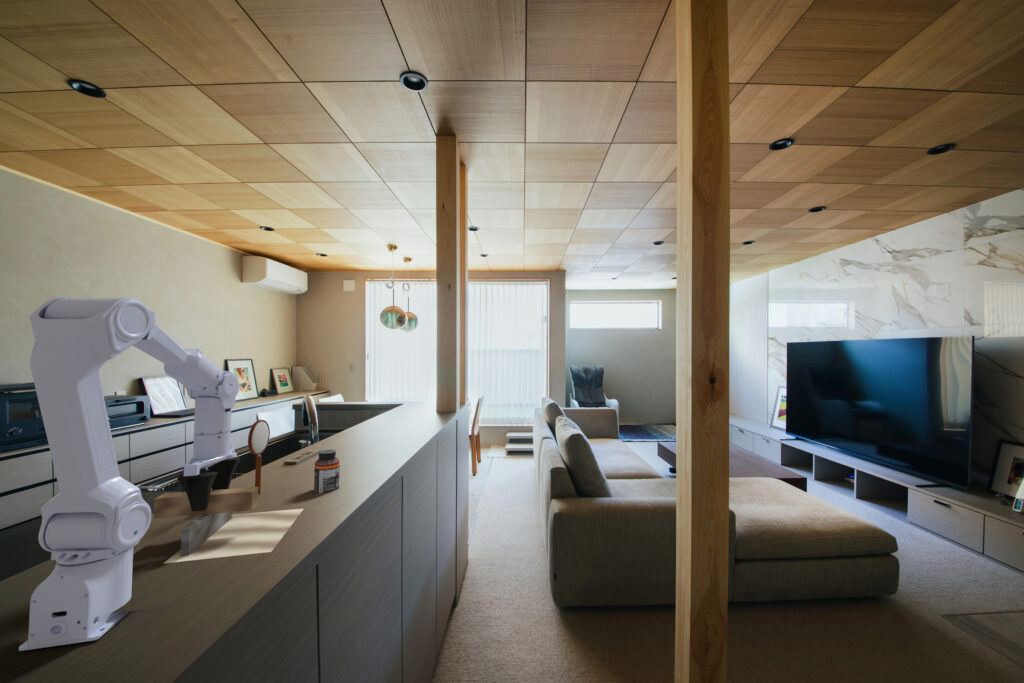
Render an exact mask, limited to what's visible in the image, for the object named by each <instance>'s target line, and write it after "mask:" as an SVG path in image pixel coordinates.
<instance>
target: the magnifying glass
mask: <svg viewBox="0 0 1024 683" xmlns="http://www.w3.org/2000/svg"><path fill="white" fill-rule="evenodd" d="M270 432H271V431H270V426H269V424H268V421H266V420H265V419H258V420H256V421H255V422H253V424H252V425H251V427H250V429H249V432H248V436H247V437H248V438H247V446H248V449H249V452H250V454H252V455H255V473H254V478H255V479H254V487H258V496H259V495H261V486H262V455H261V454H263V453H264V451H265V450H266V449H267V447H268V445H269V441H270V436H271V435H270V434H271V433H270Z"/></svg>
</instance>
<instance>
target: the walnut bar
mask: <svg viewBox="0 0 1024 683" xmlns="http://www.w3.org/2000/svg"><path fill="white" fill-rule="evenodd" d="M258 505H259V495H258V487H255V486H253V487H251V486H250V487H239V488H229V489H222V490H212V489H211V492H210V498H209V504H208V507H207V509H206V510H205V511H195V512H192V510H191V506H190V503H189V499H188V496H187V494H186V491H184V492H183V491H182V492H173V493H172V492H169V493H168V492H167V493H162V494H161V495H159V496H157V497H155V498H154V505H153V506H154V507H153V508H154V510H153V512H154V513H153V519H163V518H164V519H165V518H166V519H167V518H177V517H187V516H188V517H189V516H201V515H203V514H215V513H227V512H232V513H237V512H245V511H246V512H249V511H253V510H255V508H256V507H257V506H258Z"/></svg>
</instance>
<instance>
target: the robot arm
mask: <svg viewBox="0 0 1024 683" xmlns="http://www.w3.org/2000/svg"><path fill="white" fill-rule="evenodd" d="M29 320H30V321H29V322H30V324H31V329H32V333H33V337H34V343H33V347H32V350H31V354H30V355H31V356H30V359H29V360H30V361H29V364H30V371H31V372H30V373H31V376H32V379H33V384H34V387H35V393H36V396H37V402H38V406H39V410H40V413H41V417H42V422H43V426H44V429H45V430H44V431H45V433H46V434H45V435H46V438H47V442H48V448H49V452H50V456H51V460H52V463H53V464H52V465H53V467H54V472H55V477H56V481H57V485H58V489H59V492H58V493H56V494H55V495H54V496H53V497H51V498H50V499H49V500H48V501H47V502H46V503H44V505H43V506H40V507H41V508H40V513H41V519H42V520H41V524H40V527H39V530H38V531H39V532H38V536H37V537H38V538H37V539H38V543H39V545H40V547H41V548H42V549H43V550H44V551H47V552H51V554H50V560H51V561H56V563H55V566H54V568H53V570H52V572H51V573H50V574H49V576H47V577H46V578H45V579H44V580H43V581H42V582H41V583H40V584H38V586H37V587H36V588H35V590H33V592H32V594H31V597H30V601H29V616H28V618H29V619H28V620H29V621H28V636H27V637H28V638H27V640H26V641H25V642H23V643H22V644H20V645H19V646H18V651H19V652H24V651H30V650H38V649H43V648H50V647H52V648H53V647H57V646H65V645H72V644H80V643H85V642H92V641H96V640H99V639H100V638H101V637H102V636H103V635H104V634H106V632H108V631H109V630H110V629H112V628H113V627H114V626H115V625H116V624H117V623H119V622H120V620H122V619H123V618H124V617H125V616H127V614H128V613H130V612H131V610H125V611H117V610H119V609H120V608H122V607H123V606H124V605H126V604H127V603H128V602H129V601H130V600H131V599H132V593H133V592H132V589H133V588H132V587H133V566H134V565H133V564H134V562H133V561H134V546H137V545H139V543H140V541H141V539H143V538H144V536H145V535H146V533H147V531H148V529H149V527H150V526H151V522H152V509H151V506H150V505H149V503H147V501H145V499H144V498H143V495H142V491H141V489H140V487H138V486H136V485H135V484H133V483H131V482H130V481H128V480H126V479H124V478H123V477H122V476H121V475H120V471H119V466H118V465H119V464H118V460H117V455H116V451H115V450H116V449H115V445H114V441H113V436H112V435H113V434H112V432H111V425H110V421H109V416H108V410H107V405H106V401H105V396H104V391H103V385H102V381H101V377H100V371H99V370H100V369H101V368H102V367H103V366H104V365H105V364H106V362H108V361H111V360H113V359H114V358H116V357H118V356H119V355H121V354H122V353H124V352H125V351H127V350H128V349H130V348H131V347H134V348H136V349H138V350H140V351H142V352H143V353H145V354H147V355H149V356H150V357H152V358H154V359H156V360H157V361H159V362H161V363H163V364H164V365H163V370H164V373H165V374H166V375H167V376H169V377H170V378H171V379H174V380H175V381H176V382H178V383H179V384H181V385H182V386H183V387H184V388H185V390H186V393H187V395H188V397H189V399H191V400H192V399H193V400H194V418H193V420H194V421H193V449H192V451H193V452H192V456H191V458H190V460H189V461H188V462H187V463H185V464H184V466H183V472H181V473H179V474H178V475H177V482H178V483H180V485H181V486H182V487H183V489H184V492H186V494H187V496H188V499H189V503H190V506H191V510H192V512H195V511H205V510H206V509H207V507H208V504H209V498H210V492H211V490H222V489H230V485H231V482H232V479H233V476H234V473H235V471H236V469H237V467H238V465H239V464H240V462H241V457H240V456H237V455H238V453H237V452H236V446H234V445H233V446H231V436H232V435H231V434H232V431H231V430H232V411H233V410H232V409H233V408H234V407H235V404H236V397H237V395H238V393H239V390H240V386H241V385H240V383H239V378H238V376H237V375H236V374H235V373H233V372H232V371H231V370H230V371H229V370H222V369H221V368H220V367H219V366H218V365H217V364H216V363H214V362H212V361H211V360H209V359H208V357H206V356H205V355H203V351H202V350H200V349H197V348H195V349H194V348H183V347H182V346H181V345H180V344H179V342H177V341H175V339H174V338H172V337H171V335H169V334H168V333H167V332H166V331H165V330H164V329H163V328H162V327H160V325H159V324H157V323H156V321H157V320H156V313H155V311H153V310H152V309H150V308H149V307H147V306H146V305H145V304H144V302H142V301H141V300H140V299H137V298H135V297H132V296H131V297H129V296H128V297H127V296H124V297H123V296H122V297H119V298H118V297H116V298H115V297H113V298H112V297H107V298H106V297H102V298H101V297H71V296H57V297H53V298H50V299H48V300H47V301H45V302H44V303H43V304H42V305H40V306H39V307H38V308H37V309H36V310H35V311H33V312H32V313H31V314H30V315H29ZM115 611H117V612H115Z"/></svg>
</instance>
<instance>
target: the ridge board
mask: <svg viewBox="0 0 1024 683" xmlns="http://www.w3.org/2000/svg"><path fill="white" fill-rule="evenodd" d="M303 511H304V508H296V509H295V508H294V509H285V510H284V509H282V510H281V509H280V510H270V511H258V512H247V513H246V512H245V513H235V514H234V513H233V512H227V513H215V514H203V515H199V516H198V517H197V518H195V519H194V520H193V521H191V522H190V523H189V524H188V525H186V526H185V527H183V528H182V529H181V533H180V534H181V536H180V537H181V538H180V540H181V541H180V549H179V550H178V551H177V552H175V554H173V555H172V556H171V557H169V558H168V559H167V560H166V561H165V562H163V564H164V565H165V564H171V563H172V564H173V563H180V562H181V563H182V562H191V561H201V560H210V559H219V558H227V557H228V558H229V557H236V556H237V557H238V556H246V555H256V554H265V553H272V551H274V549H275V548H276V547H277V545H278V544H279V543H280V541H281V539H282V538H283V537H284V536H285V534H286V533H287V532H288V530H289V529H290V528H291V526H292V525H293V524H294V522H296V520H297V518H298V517H299V516H300V515H301V514H302V512H303Z"/></svg>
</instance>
